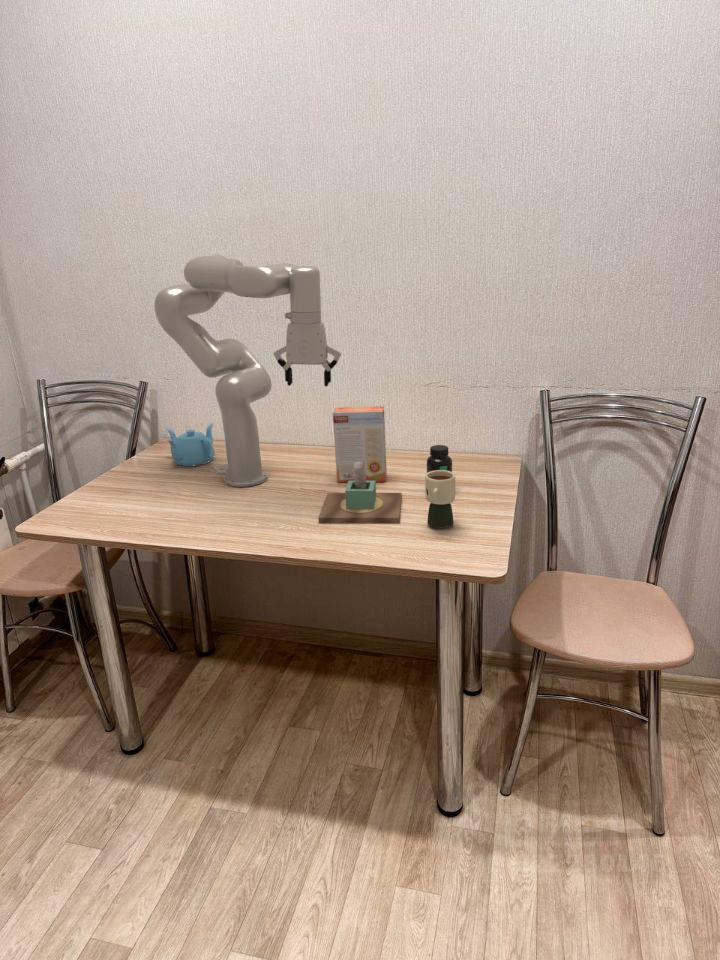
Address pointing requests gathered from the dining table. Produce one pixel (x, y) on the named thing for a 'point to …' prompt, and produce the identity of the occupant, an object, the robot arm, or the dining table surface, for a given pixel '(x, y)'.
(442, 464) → the supplement bottle
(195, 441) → the teapot
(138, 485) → the dining table surface
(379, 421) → the cracker box
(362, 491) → the collar
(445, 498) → the character mug
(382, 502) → the post board
